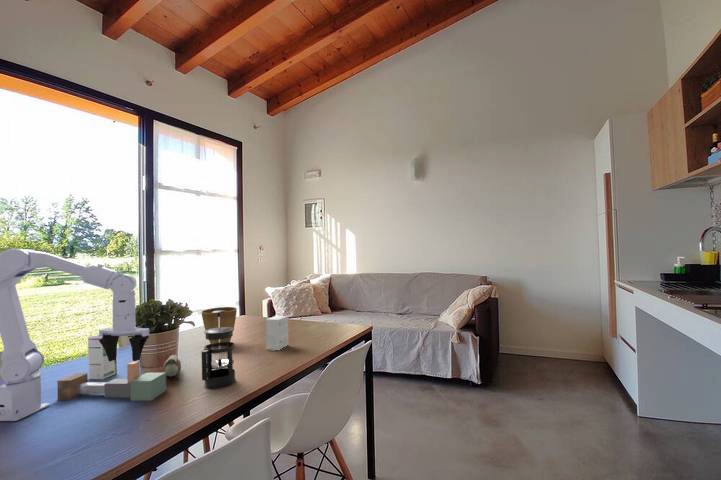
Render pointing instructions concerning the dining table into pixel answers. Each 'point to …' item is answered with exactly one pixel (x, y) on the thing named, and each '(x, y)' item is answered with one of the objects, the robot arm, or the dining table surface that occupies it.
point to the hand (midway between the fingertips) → (124, 360)
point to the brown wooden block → (70, 386)
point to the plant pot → (225, 320)
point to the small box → (277, 332)
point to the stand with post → (123, 383)
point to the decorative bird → (172, 367)
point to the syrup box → (99, 360)
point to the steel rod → (91, 388)
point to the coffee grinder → (221, 374)
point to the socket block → (148, 386)
